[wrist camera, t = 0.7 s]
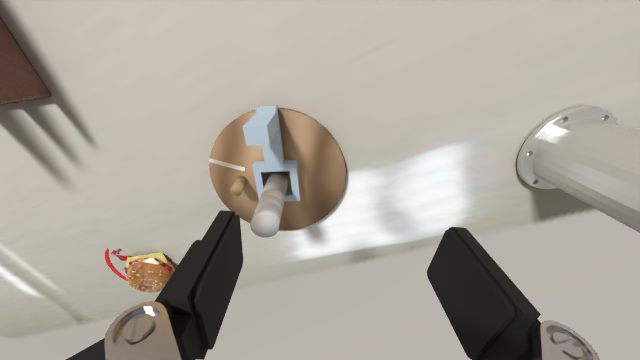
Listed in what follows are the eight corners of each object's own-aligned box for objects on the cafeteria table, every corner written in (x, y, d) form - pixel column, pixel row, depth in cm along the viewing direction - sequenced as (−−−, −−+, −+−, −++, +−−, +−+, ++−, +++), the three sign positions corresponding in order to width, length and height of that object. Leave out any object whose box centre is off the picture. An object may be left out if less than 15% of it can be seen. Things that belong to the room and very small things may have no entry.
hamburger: (163, 229, 41) (141, 255, 35) (196, 281, 47) (181, 309, 42) (89, 240, 41) (56, 267, 36) (131, 290, 48) (109, 319, 43)
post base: (345, 103, 30) (362, 130, 20) (344, 222, 40) (355, 284, 29) (195, 111, 31) (130, 141, 20) (229, 228, 40) (198, 291, 29)
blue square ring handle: (300, 195, 35) (297, 227, 29) (261, 197, 35) (249, 229, 29) (291, 104, 29) (284, 119, 22) (243, 107, 29) (223, 122, 22)
